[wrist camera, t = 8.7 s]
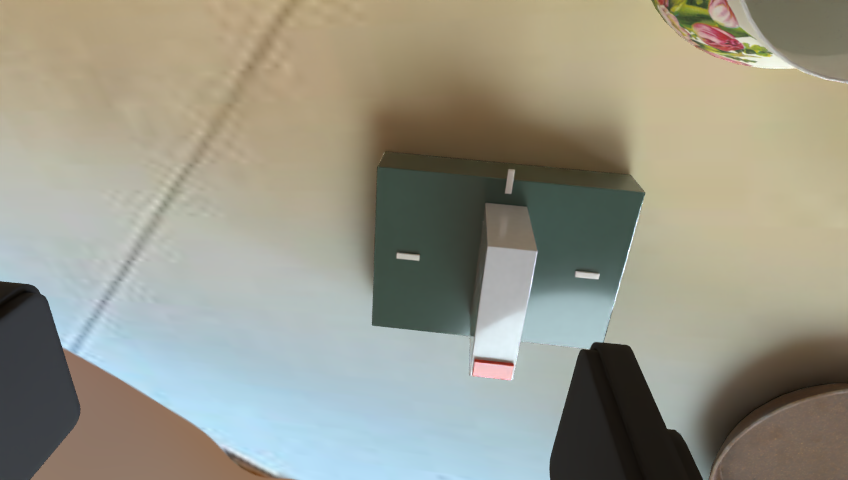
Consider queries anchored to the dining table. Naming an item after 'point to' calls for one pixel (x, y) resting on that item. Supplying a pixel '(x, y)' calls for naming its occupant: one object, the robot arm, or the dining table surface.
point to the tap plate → (460, 239)
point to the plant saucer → (790, 439)
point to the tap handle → (501, 290)
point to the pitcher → (766, 32)
